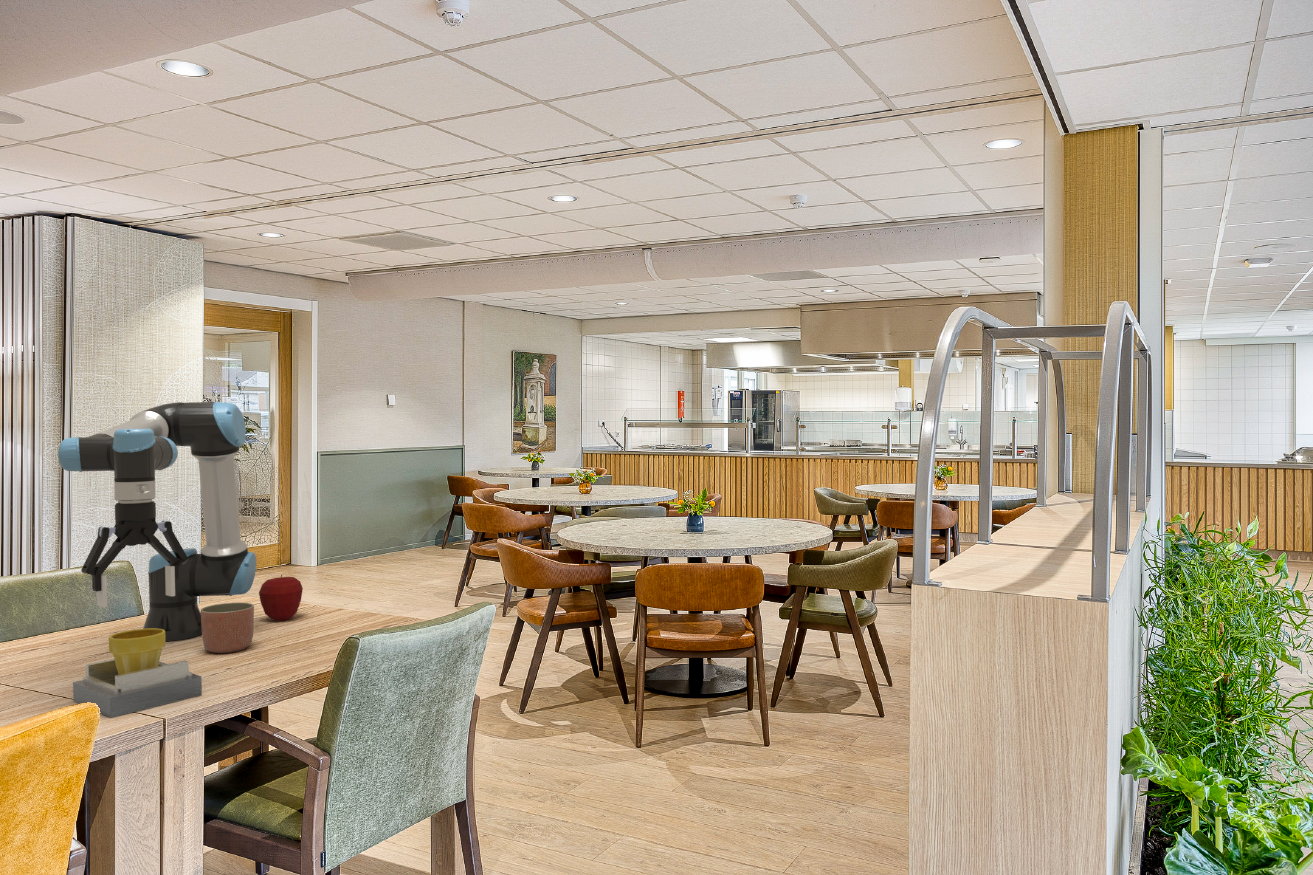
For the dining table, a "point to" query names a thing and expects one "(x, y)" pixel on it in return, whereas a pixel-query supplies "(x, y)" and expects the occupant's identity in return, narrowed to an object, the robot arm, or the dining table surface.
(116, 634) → the plant pot
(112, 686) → the grey square tray
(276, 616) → the apple
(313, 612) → the dining table surface
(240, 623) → the planter
